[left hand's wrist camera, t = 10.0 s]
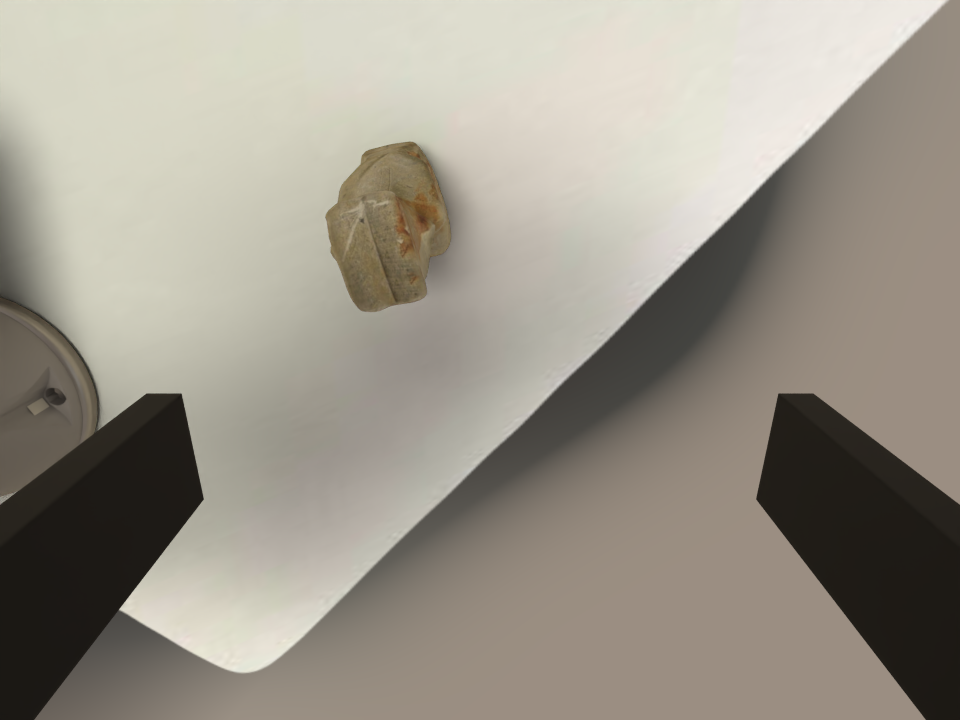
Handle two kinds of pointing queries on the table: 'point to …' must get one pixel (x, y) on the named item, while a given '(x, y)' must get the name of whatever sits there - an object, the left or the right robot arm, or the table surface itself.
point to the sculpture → (388, 227)
